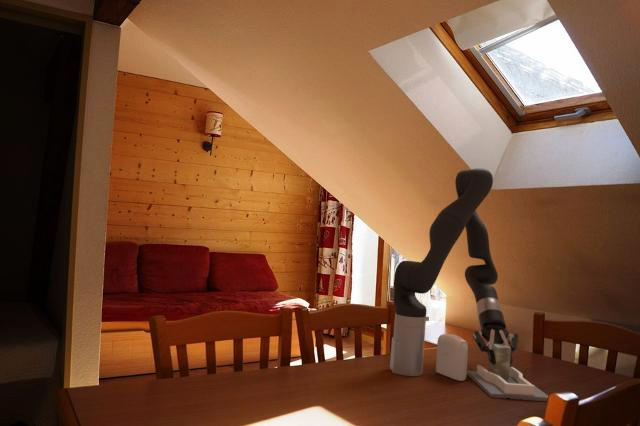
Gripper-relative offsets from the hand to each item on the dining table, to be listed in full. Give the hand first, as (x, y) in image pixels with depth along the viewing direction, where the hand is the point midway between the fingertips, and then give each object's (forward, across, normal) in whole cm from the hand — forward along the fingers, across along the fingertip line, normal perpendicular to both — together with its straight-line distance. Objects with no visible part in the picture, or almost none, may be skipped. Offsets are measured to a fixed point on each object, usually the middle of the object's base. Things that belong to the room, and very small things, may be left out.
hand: (501, 363), depth 155 cm
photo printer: (+2, -14, +6) cm, 15 cm away
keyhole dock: (+7, 0, +1) cm, 7 cm away
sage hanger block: (+2, 0, +4) cm, 4 cm away
